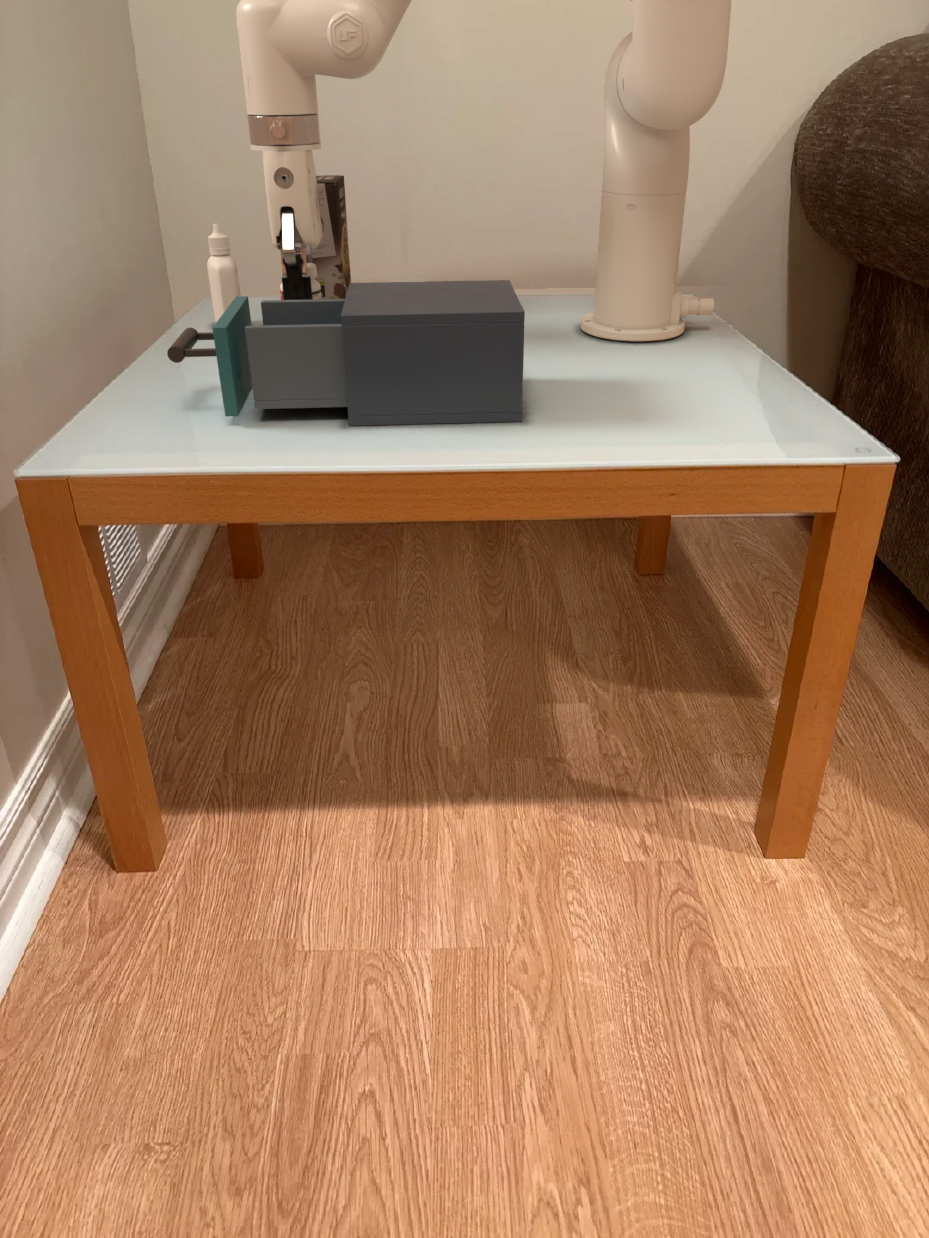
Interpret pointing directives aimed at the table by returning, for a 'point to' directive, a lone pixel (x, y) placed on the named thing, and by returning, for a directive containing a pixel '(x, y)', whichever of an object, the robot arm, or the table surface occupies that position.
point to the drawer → (275, 354)
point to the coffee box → (332, 239)
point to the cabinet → (433, 352)
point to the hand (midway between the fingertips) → (301, 306)
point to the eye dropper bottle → (221, 272)
